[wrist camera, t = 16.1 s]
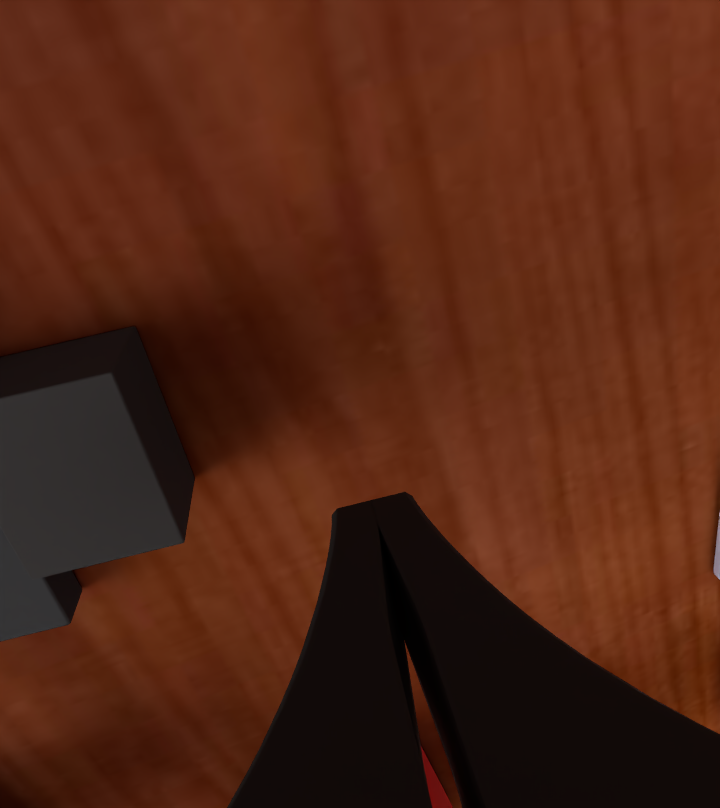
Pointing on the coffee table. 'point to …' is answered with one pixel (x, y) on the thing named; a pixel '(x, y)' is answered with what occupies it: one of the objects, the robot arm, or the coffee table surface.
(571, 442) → the coffee table surface
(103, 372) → the dark grey rectangular block
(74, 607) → the base pad
